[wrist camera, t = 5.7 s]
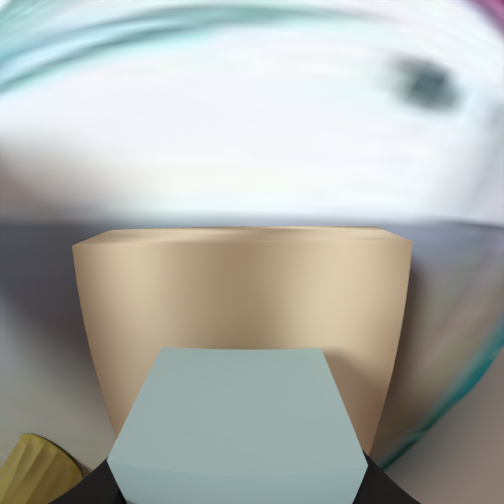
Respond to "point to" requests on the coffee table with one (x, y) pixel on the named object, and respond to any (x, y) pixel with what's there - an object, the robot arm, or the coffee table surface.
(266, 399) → the teal cube
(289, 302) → the beech block
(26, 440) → the vase
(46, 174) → the coffee table surface
